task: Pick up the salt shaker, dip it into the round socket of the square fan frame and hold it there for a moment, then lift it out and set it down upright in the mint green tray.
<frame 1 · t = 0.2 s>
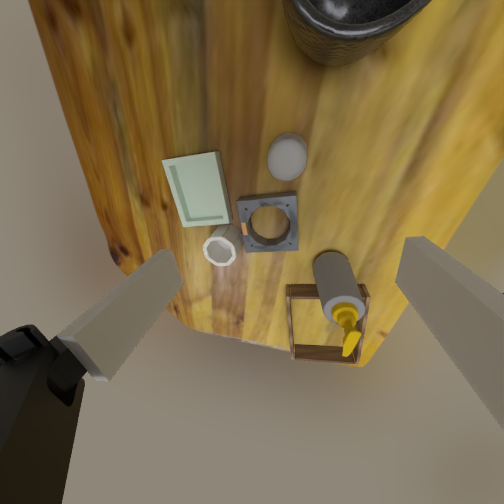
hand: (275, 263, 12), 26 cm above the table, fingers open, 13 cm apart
soap bottle: (329, 263, 40), on the table
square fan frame: (270, 220, 38), on the table
mint green tray: (202, 190, 37), on the table
planter: (340, 5, 24), on the table
book tray: (322, 318, 48), on the table
salt shaker: (288, 153, 32), on the table
octagonal gray cup: (228, 237, 41), on the table
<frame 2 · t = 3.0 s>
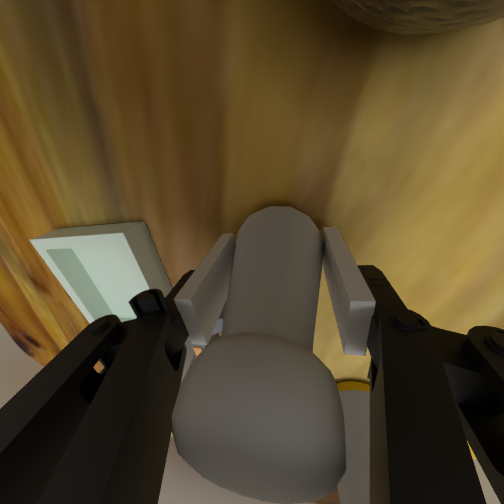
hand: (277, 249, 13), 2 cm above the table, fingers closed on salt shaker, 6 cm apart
soap bottle: (352, 392, 24), on the table
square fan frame: (249, 331, 21), on the table
mint green tray: (127, 279, 21), on the table
salt shaker: (280, 233, 16), on the table, touching gripper
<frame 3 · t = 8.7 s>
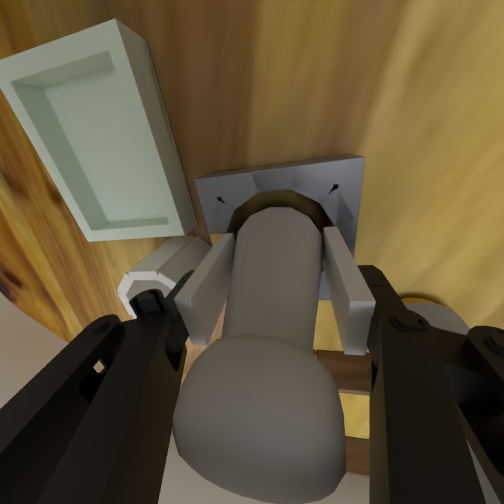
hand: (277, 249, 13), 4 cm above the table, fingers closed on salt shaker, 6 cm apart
soap bottle: (404, 318, 19), on the table
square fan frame: (280, 229, 17), on the table
mint green tray: (123, 157, 16), on the table
book tray: (371, 405, 26), on the table
salt shaker: (280, 234, 16), point 1 cm above the table, touching gripper
octagonal gray cup: (192, 262, 20), on the table
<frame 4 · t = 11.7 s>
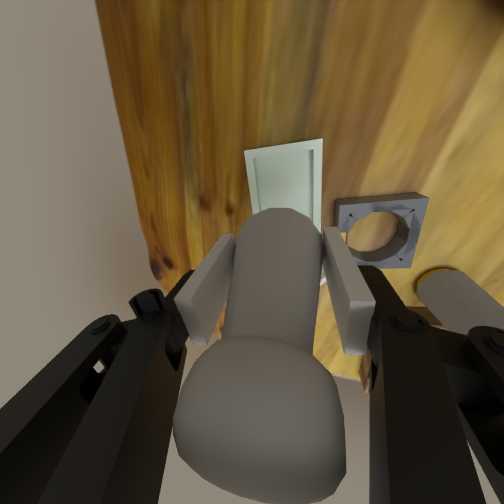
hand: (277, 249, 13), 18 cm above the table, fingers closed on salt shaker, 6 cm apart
soap bottle: (435, 282, 32), on the table
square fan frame: (369, 229, 30), on the table
mint green tray: (285, 190, 29), on the table
book tray: (408, 346, 39), on the table
salt shaker: (280, 234, 16), point 16 cm above the table, touching gripper
when the fingers open (4 cm above the table, at t = 14.5 s): salt shaker drops 1 cm, resting on mint green tray.
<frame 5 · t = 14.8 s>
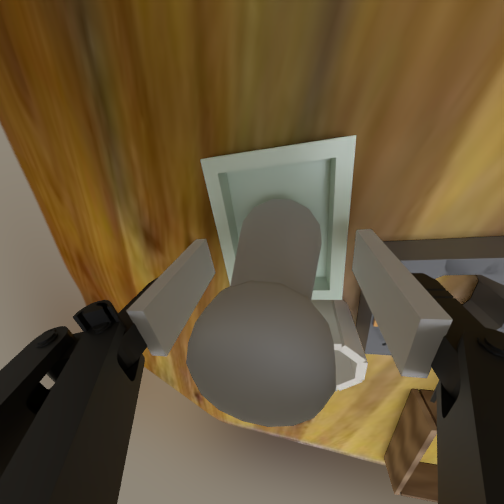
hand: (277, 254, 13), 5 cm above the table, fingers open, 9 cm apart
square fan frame: (422, 290, 18), on the table
mint green tray: (280, 225, 17), on the table
book tray: (460, 437, 27), on the table
salt shaker: (281, 228, 17), point 1 cm above the table, touching mint green tray
octagonal gray cup: (316, 312, 21), on the table
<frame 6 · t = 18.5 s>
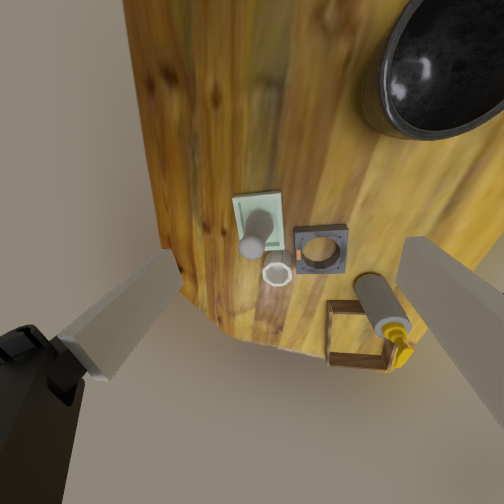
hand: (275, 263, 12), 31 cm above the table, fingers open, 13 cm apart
soap bottle: (368, 282, 46), on the table
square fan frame: (318, 247, 44), on the table
mint green tray: (261, 220, 43), on the table
planter: (398, 87, 30), on the table
book tray: (356, 330, 53), on the table
salt shaker: (261, 221, 43), resting on mint green tray
octagonal gray cup: (278, 260, 47), on the table
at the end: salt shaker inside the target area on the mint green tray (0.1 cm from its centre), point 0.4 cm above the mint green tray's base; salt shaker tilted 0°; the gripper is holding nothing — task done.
